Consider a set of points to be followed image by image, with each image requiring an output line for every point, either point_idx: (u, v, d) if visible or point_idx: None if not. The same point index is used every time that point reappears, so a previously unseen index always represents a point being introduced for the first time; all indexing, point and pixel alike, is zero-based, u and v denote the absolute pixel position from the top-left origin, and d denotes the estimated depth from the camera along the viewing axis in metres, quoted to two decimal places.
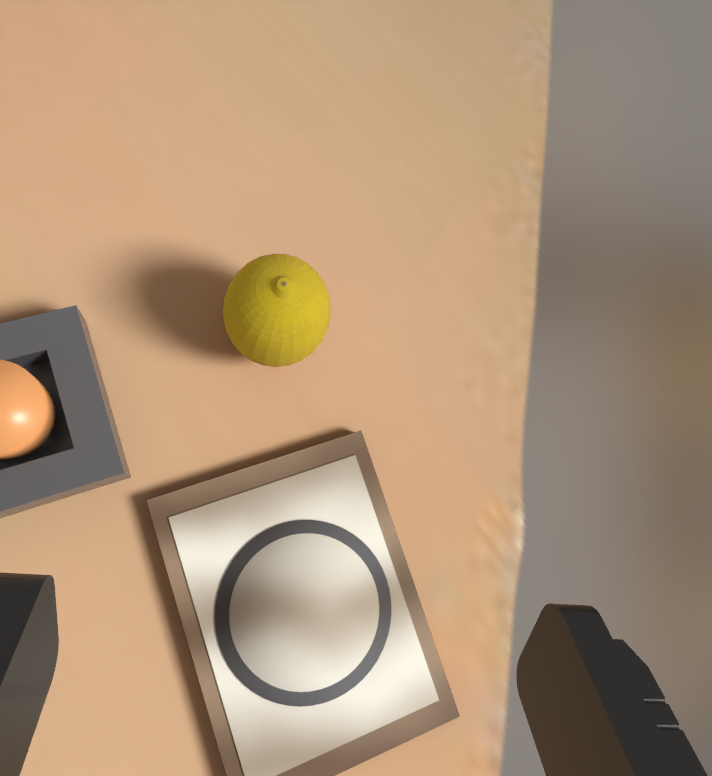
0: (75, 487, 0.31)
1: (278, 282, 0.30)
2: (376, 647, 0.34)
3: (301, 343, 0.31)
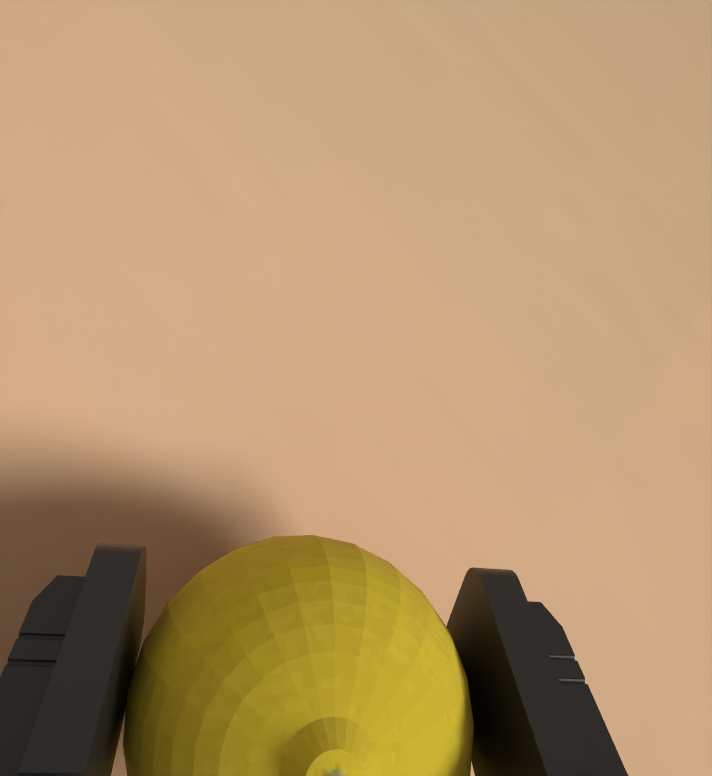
0: None
1: None
2: None
3: None
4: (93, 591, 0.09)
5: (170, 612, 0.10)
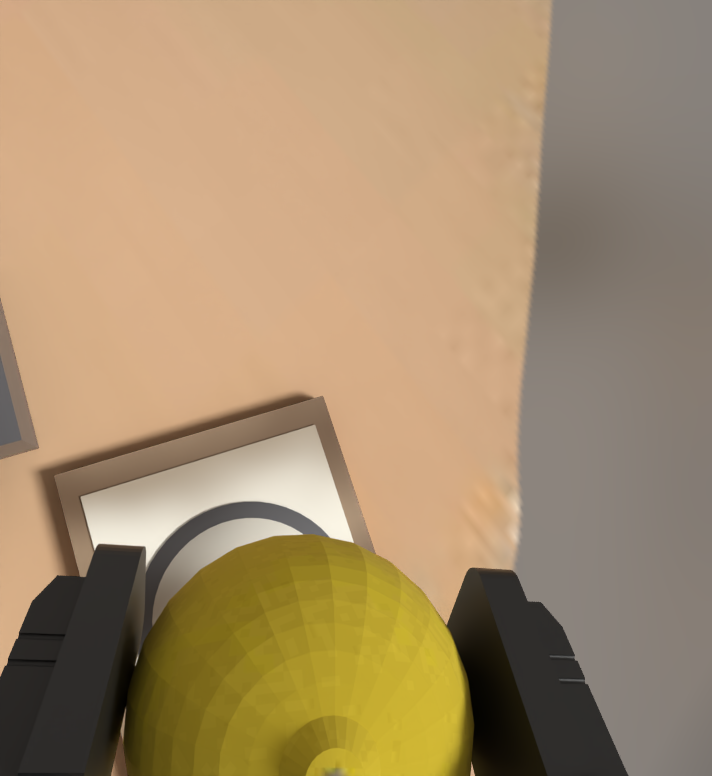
0: None
1: None
2: None
3: None
4: (93, 591, 0.09)
5: (170, 611, 0.10)
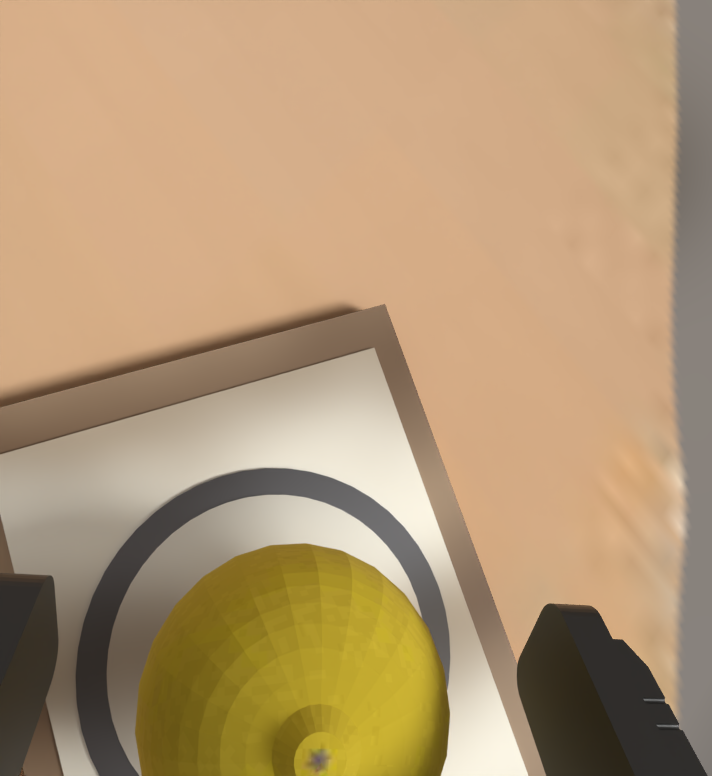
0: None
1: (299, 756, 0.08)
2: None
3: None
4: None
5: (176, 614, 0.11)
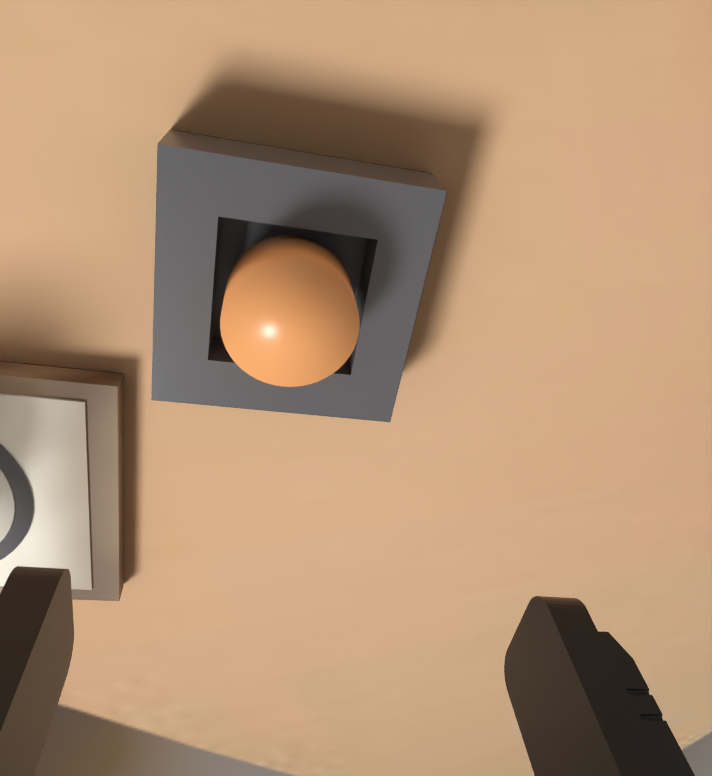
0: (153, 344, 0.22)
1: None
2: None
3: None
4: (1, 620, 0.08)
5: None
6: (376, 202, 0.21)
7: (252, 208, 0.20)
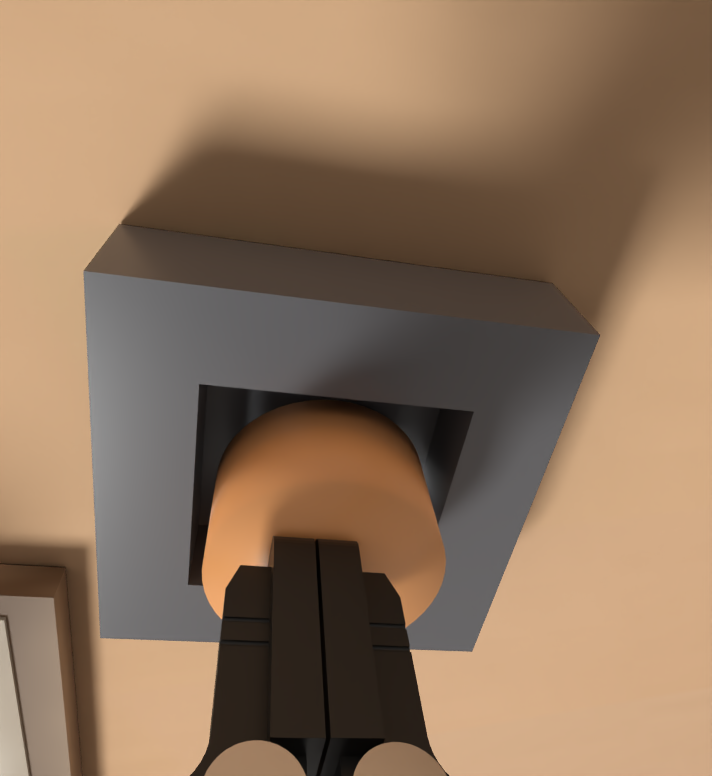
0: (98, 567, 0.14)
1: None
2: None
3: None
4: (284, 579, 0.10)
5: None
6: (476, 356, 0.12)
7: (260, 369, 0.11)
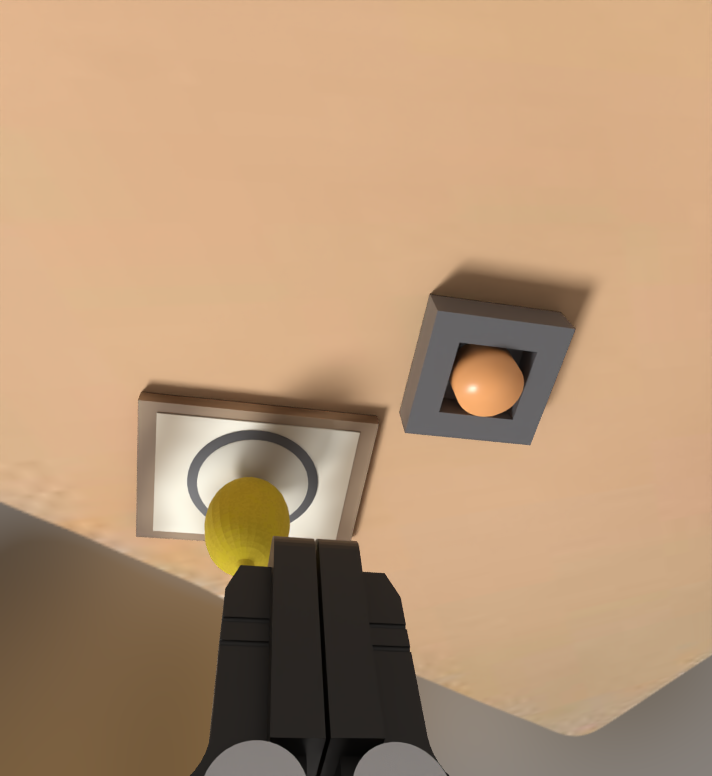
0: (413, 404, 0.42)
1: None
2: (206, 511, 0.47)
3: None
4: (284, 579, 0.10)
5: (283, 522, 0.41)
6: (539, 334, 0.40)
7: (477, 338, 0.40)
